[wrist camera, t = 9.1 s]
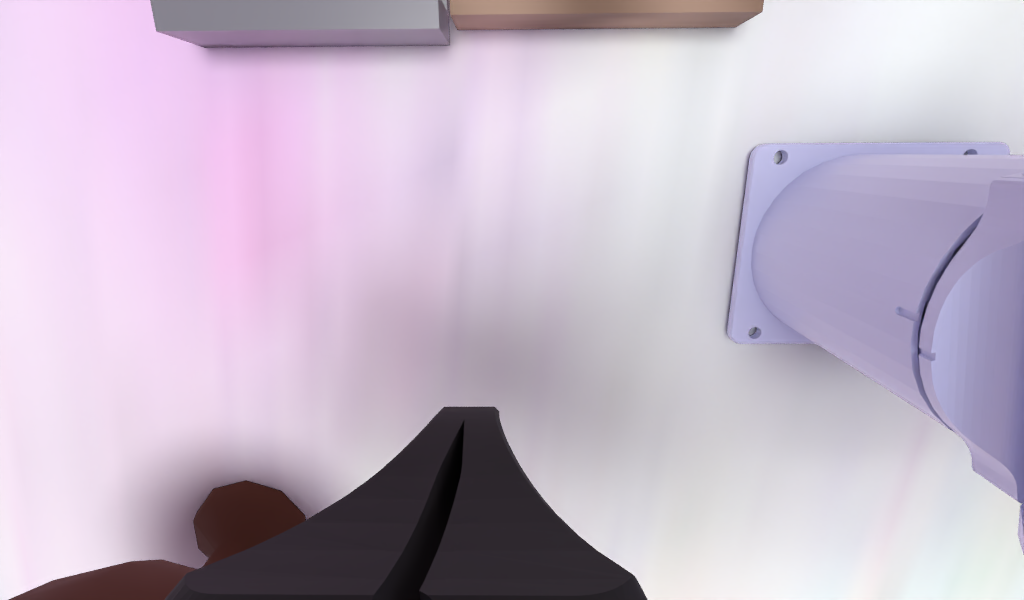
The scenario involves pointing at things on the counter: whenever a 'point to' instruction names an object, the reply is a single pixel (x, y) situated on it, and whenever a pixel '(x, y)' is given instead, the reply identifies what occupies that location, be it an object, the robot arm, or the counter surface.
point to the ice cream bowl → (219, 531)
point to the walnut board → (600, 13)
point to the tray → (304, 22)
